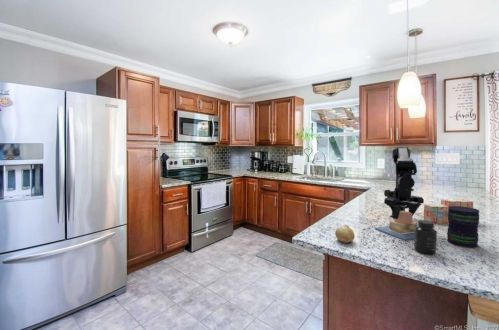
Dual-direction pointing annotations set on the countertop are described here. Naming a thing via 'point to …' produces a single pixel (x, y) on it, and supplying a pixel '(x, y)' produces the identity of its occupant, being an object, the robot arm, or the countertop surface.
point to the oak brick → (402, 227)
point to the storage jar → (463, 226)
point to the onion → (345, 234)
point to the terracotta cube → (404, 218)
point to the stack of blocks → (443, 209)
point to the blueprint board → (401, 236)
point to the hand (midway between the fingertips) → (403, 218)
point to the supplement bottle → (425, 238)
